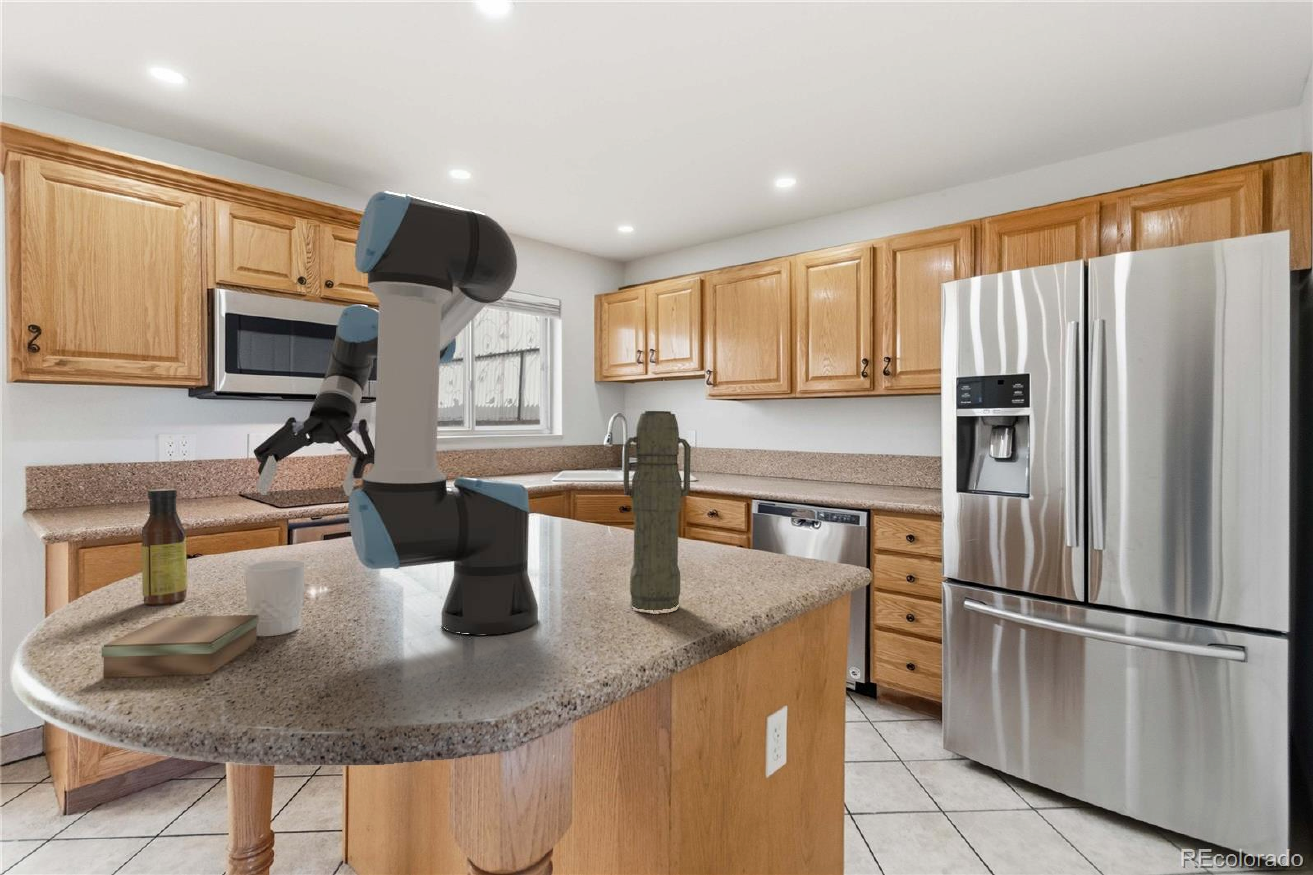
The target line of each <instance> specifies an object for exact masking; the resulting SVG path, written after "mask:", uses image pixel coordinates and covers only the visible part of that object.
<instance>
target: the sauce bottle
mask: <svg viewBox="0 0 1313 875" xmlns="http://www.w3.org/2000/svg"><path fill="white" fill-rule="evenodd" d="M177 496H178V490H177V489H176V488H159V489H149V490H148V491H147V498H148V500H149V512H148V514H149V516H148V519H147V521H146V522H145V523H144V525H143V527H142V529H141V543H142V544H141V572H142V573H141V578H142V580H141V581H142V586H141V587H142V596H143V603H144V604H145V605H150V606H161V605H170V604H174V603H178V602H182V601H184V600H185V599H186V598H187V590H188V572H187V571H188V570H187V569H188V567H187V566H188V560H187V538H186V537H187V535H186V532H185V529H184V527H183V524H182V522H181V520H180V517H179V515H178V511H177V498H178V497H177Z"/></svg>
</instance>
